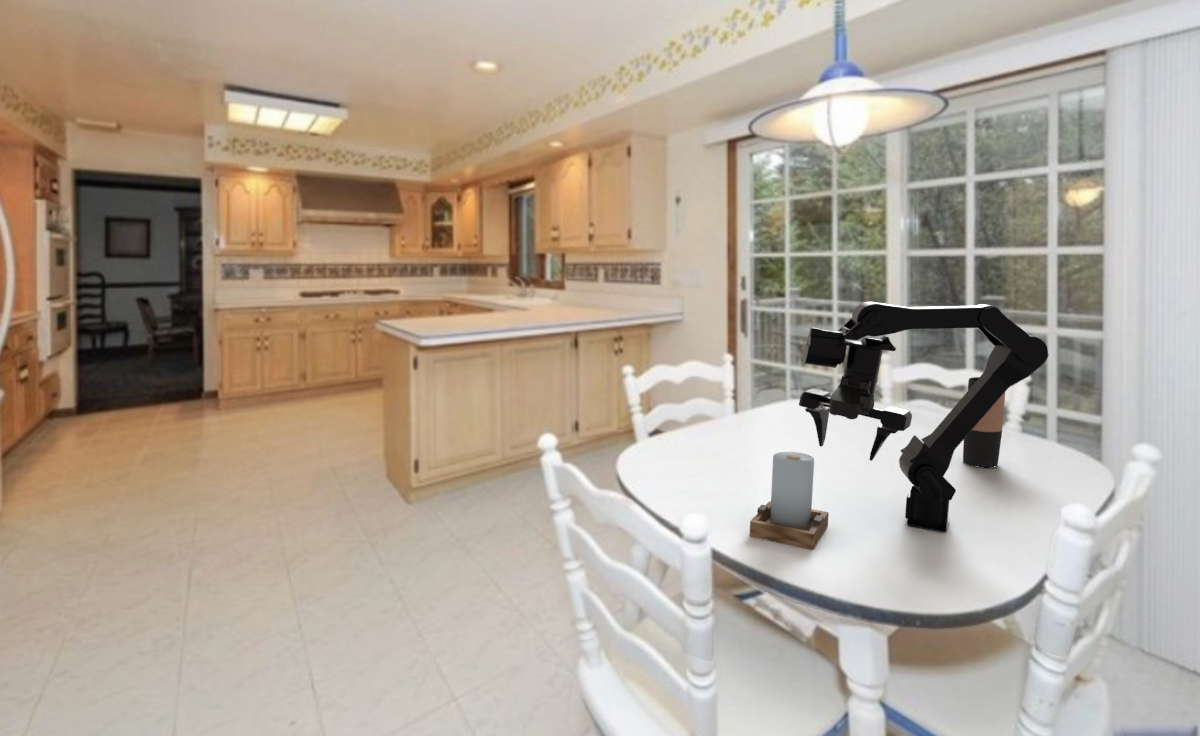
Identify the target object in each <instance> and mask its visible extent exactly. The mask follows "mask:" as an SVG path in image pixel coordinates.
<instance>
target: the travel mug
mask: <svg viewBox="0 0 1200 736" xmlns="http://www.w3.org/2000/svg"><path fill="white" fill-rule="evenodd" d="M979 377H980V376H979ZM979 377H978V376H976V377H974V376H973V377H969V378H968V383H967V384H968V385H967V391H968V390H969V389H970V388H971V387H972V386H973V384H974V383H975V382H976V381H977V380H978V379H979ZM1005 401H1006V392H1005V393H1004V394H1003V395H1002V396H1001V397H1000V398H999V400H998V401H997V402H996V403H995V404H994V405H993V406H992V408H991V409H990V410H989V411H988V412H987V413H986V414H985V416H984V417H983V418H982V419H981V420H980V421H979V422H978V424H977V425H976V426H975V427H974V428H973V429H972V430H971V432H970V433H969V434H968V435H967V436H966V437H965V439H964V440H963V448H962V450H963V451H962V462H963V463H964V462H965V463H966V465H967V464H969V465H968V466H970V465H973V466H972V467H974V466H979V467H978V468H980V467H994V466H997V467H998V464H999V459H1000V452H1001V451H1000V450H1001V445H1002V443H1001V442H1002V437H1003V435H1002V434H1003V427H1004V426H1003V425H1004V415H1005V414H1004V412H1005ZM965 463H964V464H965ZM994 468H995V467H994Z"/></svg>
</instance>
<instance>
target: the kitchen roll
mask: <svg viewBox="0 0 1200 736" xmlns="http://www.w3.org/2000/svg"><path fill="white" fill-rule="evenodd" d="M814 468H815V458H814V457H813V456H812V455H810V454H807V453H802V452H797V451H780V452H776V453H774V454H773V455H772V470H771V471H772V472H771V473H772V474H771V475H772V476H771V494H770V495H771V497H770V501H771V514H770V523H772V524H777V525H782V526H787V527H792V528H797V529H801V530H806V531H809V530H810V526H811V509H812V508H813V507H812V505H813V492H814V491H813V490H814V487H813V486H814V470H815V469H814Z"/></svg>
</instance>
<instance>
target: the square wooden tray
mask: <svg viewBox="0 0 1200 736" xmlns="http://www.w3.org/2000/svg"><path fill="white" fill-rule="evenodd" d="M756 512H757V513H756V514H755V516H754V517H753V518H751V520H750V521H749V537H751V536H752V538H757V539H760V538H761V539H760V540H765V539H766V540H765V541H769V540H770V542H774V541H776V542H775V543H779V542H780V543H779V544H783V543H784V545H788V546H792V547H793V546H794V547H797V548H802V549H806V550H811V551H813V550H814V549H815V547H816V546H817V544H818V542H819V541H820V539H821V538H822V537H823V535H824V534H825V532H826V530H827V529H828V527H829V512H828V511H825V510H824V511H823V510H819V509H812V508H811V526H810V530H809V531H806V530H801V529H797V528H792V527H787V526H782V525H777V524H772V523H770V514H771V500H769V501H768V502H767V503H766V504H760V506H759V507H758V508H757V511H756Z"/></svg>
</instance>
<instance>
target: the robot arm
mask: <svg viewBox="0 0 1200 736" xmlns="http://www.w3.org/2000/svg"><path fill="white" fill-rule="evenodd" d="M924 329H927V330H930V329H935V330H936V329H941V330H942V329H978V330H979V331H980V332H981V333H982V335H984V337H985V338H986V339H987V340H988V341H989V342H990V343H991V344H992V345H993V346H994V347H993V348H992V351H991V352H990V354H989V355H988V359H987V363H986V365H985V368H984V371H983V373H982V374H981V375H980V376H979V379H978V380H977V381H976V382H975V383H974V384H973V386H972V387H971V388H970V389H969V390H968V389H967V391H966V393H965V394H964V395H963V396H962V398H961V399H960V400H959V401H958V402H957V404H955V406H953V408H952V409H951V410H950V411H949V413H948V414H946V416H945V417H944V418H943V419H942V421H941V422H940V423H938V426H936V427H935V429H934V430H933V431H932V432H931V433H930V434H928V435H927V436H925V437H923V438H920V437H919V436H918V435H916V434H914V435H913V436H912V437H911V439H910V441H909V442H908V444H907V445H906V446H905V447H903V448H902V449H900V452H901V453H902V454H901V455H900V457H899V459H898V463H899V464H898V465H899V468H900V471H901V472H902V474H904V476H905V477H906V478H907V480H908V481H909V482H910V483H911V485H912V486H911V488H910V492H909V493H908V494H907V495H906V499H905V500H906V502H905V516H904V518H905V520H906V525H907V526H909V527H915V528H921V529H925V530H930V531H935V532H936V531H937V532H941V533H947V531H948V527H949V524H950V523H949V522H950V518H949V512H950V511H949V510H950V509H949V508H950V501H952V499H953V497H954V495H955V493H956V492H957V490H956V488H955V487H954V486H953V485H952V483H950V482H949V481H948V480H947V479H946V478H945V474H946V473H947V472H948V469H949V468H950V465H951V461H952V459H953V455H954V452H955V450H956V449H957V448H958V446H960V444H961V443H962V442H964V439H965V437H966V436H967V435H968V434H969V433H970V432H971V430H972V429H973V428H974V427H975V426H976V425H977V424H978V422H979V421H980V420H981V419H982V418H983V417H984V416H985V414H986V413H987V412H988V411H989V410H990V409H991V408H992V406H993V405H994V404H995V403H996V402H997V401H998V400H999V398H1000V397H1001V396H1002V395H1003V394H1004V393H1005V394H1006V392H1007V390H1009V388H1011V387H1012V386H1014V385H1016V384H1018V383H1019V382H1021V381H1023V380H1025V379H1027V378H1028V377H1030V376H1031V375H1033V374H1034V373H1035V372H1036V371H1038V369H1040V368H1041V367H1042V366H1043V365H1044V364H1045V363H1046V361H1047V359H1048V358H1049V349H1048V346H1047V344H1046V342H1045V341H1044V340H1042V339H1041V338H1039V337H1037V336H1034V335H1030V334H1028V333H1027V332H1026V331H1025V330H1024V329H1023V328H1022V327H1020V326H1019V325H1018V324H1016V323H1014V321H1013V320H1011V319H1009V318H1008V317H1007V316H1006V315H1005V314H1004V313H1002V312H1001V310H1000V308H998V307H997V306H995V305H989V304H983V303H981V304H977V305H958V306H957V305H955V306H954V305H953V306H951V305H949V306H948V305H946V306H944V305H943V306H910V307H909V306H902V305H895V304H889V303H882V302H875V301H864V302H862V303H859V304H858V305H857V306H856V307H855V308H854V310H853V311H852V314H851V318H849V320H848V321H847V322H845V323H844V324H843V325H842V326H841V327H840V328H839V329H838V330H837V331H836V330H829V329H822V328H818V327H813V326H811V327H810V328H809V332H808V335H807V338H806V342H805V343H804V348H803V355H802V362H803V364H804V365H811V366H820V367H824V368H825V367H827V368H831V369H832V368H833V369H837V366H838V365H840V366H841V364H843V363H844V362H845V364H844V365H845V366H844V371H843V375H842V376H841V379H840V383H839V384H838V386H837V388H835V390H834V391H833V392H832V393H830V392H829V391H825V390H820V389H816V388H810V389H809V390H808V389H807V390H806V391H804V392H801V395H800V396H799V400H798V401H799V402H798V406H799V407H803V408H805V409H804V410H805V412H806V413H809V414H810V415H811V417H812V419H813V421H814V425H815V429H816V434H817V440H818V445H819V447H823V446H824V444H825V441H826V435H827V429H828V424H829V423H828V422H829V416H830V415H832V416H840V417H842V418H843V417H845V418H846V419H848V420H856V419H858V417H859V415H860V416H862V417H867V418H871V419H875V420H879V421H880V423H881V424H880V425H878V426H877V427H876V435H875V438H874V441H873V444H872V446H871V447H872V448H871V451H870V454H869V461H874V459H875V457H876V456H877V454H878V452H879V451H880V449H881V448H882V447H883V444H884V443H885V442H886V440H887V438H888V437H889V436H891V434H896V433H897V432H899V431H900V432H904V431H906V430H907V429H908V428H909V427H911V423H912V419H913V414H912V412H911V411H910V410H908V409H904V408H899V407H896V406H891V405H890V406H888V407H886V408H884V409H881V408H877V407H875V401H876V399H875V392H876V387H877V384H878V380H879V378H878V376H879V372H880V367H881V362H882V356H883V351H888V352H895V351H896V350H897V347H895V346H894V344H893V343H892V342H891V340H890V337H889V336H888V335H892V334H896V333H901V332H903V331H908V330H924ZM867 336H868V337H867ZM879 336H880V338H875V337H879ZM873 337H874V338H873ZM847 346H848V349H847ZM846 353H847V355H846ZM845 359H846V360H845Z"/></svg>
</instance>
